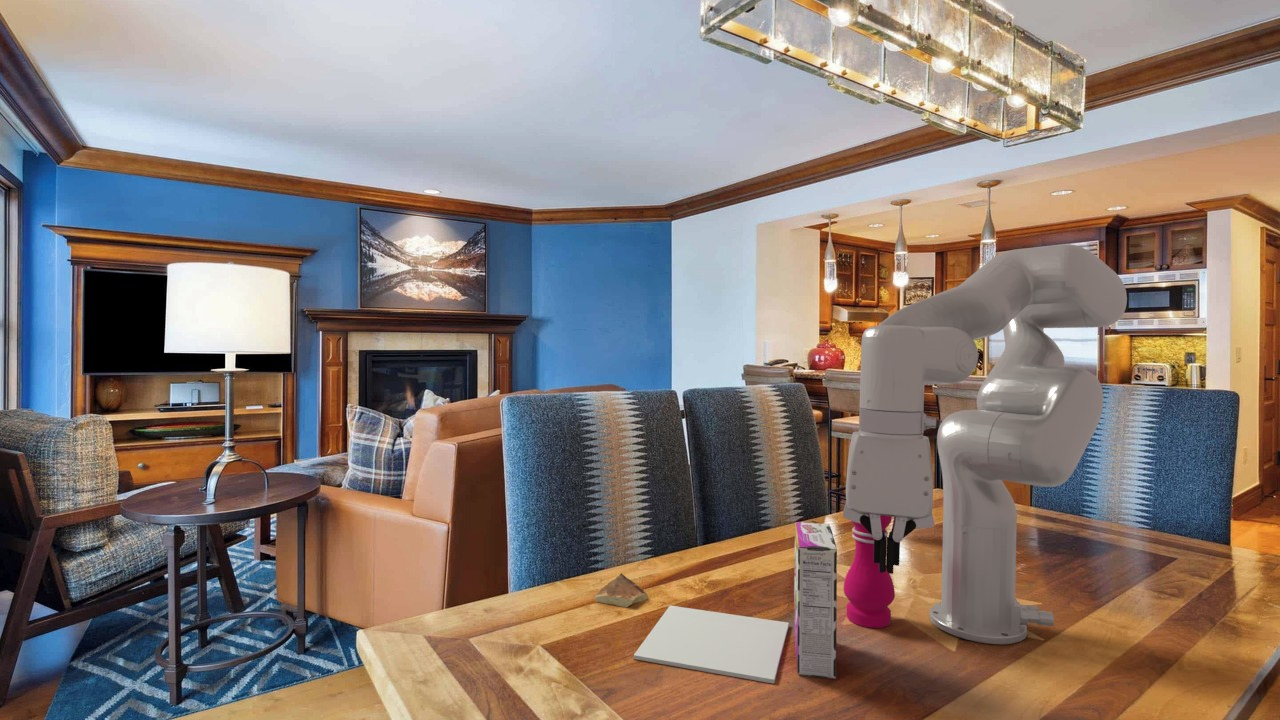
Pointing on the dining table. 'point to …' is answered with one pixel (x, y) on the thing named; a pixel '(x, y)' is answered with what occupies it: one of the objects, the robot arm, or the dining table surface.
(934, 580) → the dining table surface
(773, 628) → the pale gray mat
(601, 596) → the shard
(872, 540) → the pepper mill
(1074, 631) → the dining table surface
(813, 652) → the candy bar box
